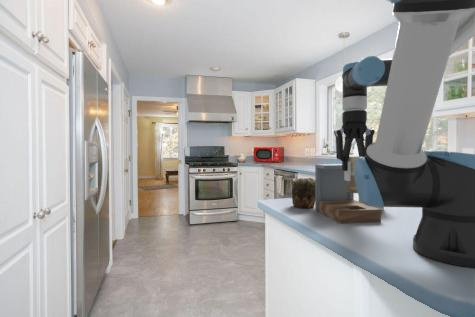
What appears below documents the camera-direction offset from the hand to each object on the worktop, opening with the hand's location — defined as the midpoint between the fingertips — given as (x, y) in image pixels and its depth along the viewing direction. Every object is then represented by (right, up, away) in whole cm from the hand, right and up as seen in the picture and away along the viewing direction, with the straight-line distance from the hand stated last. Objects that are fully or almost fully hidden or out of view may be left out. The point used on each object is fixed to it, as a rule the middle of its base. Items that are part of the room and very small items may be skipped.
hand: (353, 180), depth 91 cm
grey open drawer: (-1, -13, +11) cm, 17 cm away
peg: (0, -4, 0) cm, 4 cm away
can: (+14, -13, +16) cm, 24 cm away
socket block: (0, -13, +5) cm, 14 cm away
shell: (-11, -13, +21) cm, 27 cm away
